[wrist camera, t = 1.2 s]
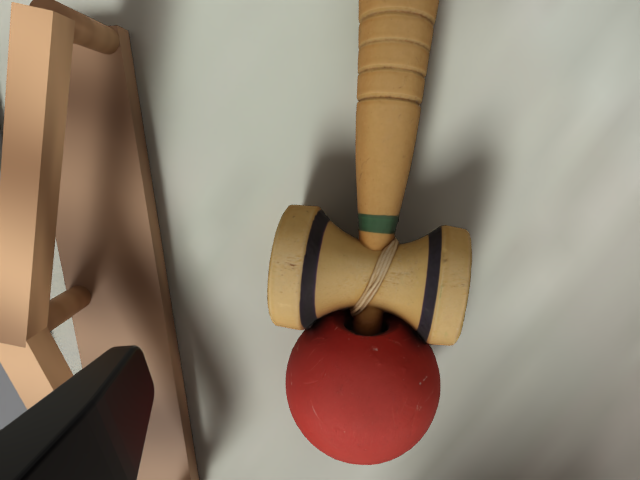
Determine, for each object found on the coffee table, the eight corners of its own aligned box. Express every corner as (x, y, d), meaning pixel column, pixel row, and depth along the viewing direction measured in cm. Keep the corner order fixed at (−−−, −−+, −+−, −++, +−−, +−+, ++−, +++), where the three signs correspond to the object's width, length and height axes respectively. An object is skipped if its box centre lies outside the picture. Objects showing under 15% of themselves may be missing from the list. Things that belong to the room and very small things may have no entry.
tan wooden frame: (202, 489, 23) (162, 596, 18) (118, 493, 24) (53, 601, 18) (130, 30, 19) (48, -12, 14) (27, 40, 19) (-94, 2, 14)
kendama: (278, 1, 20) (252, 419, 21) (296, -87, 14) (257, 510, 15) (453, 26, 21) (417, 418, 23) (540, -44, 15) (484, 502, 16)
